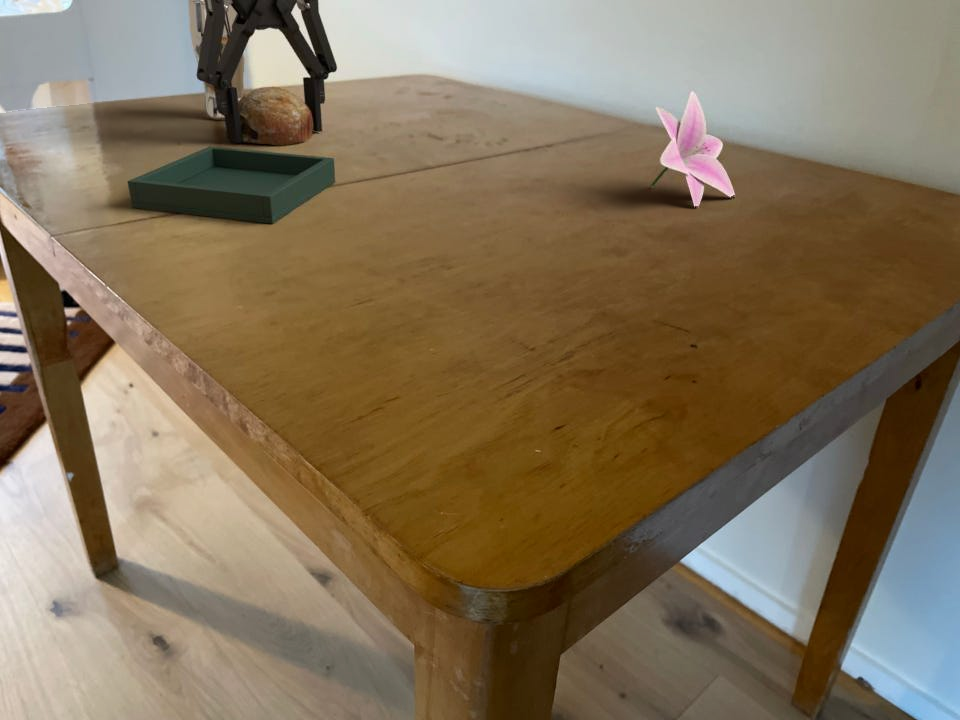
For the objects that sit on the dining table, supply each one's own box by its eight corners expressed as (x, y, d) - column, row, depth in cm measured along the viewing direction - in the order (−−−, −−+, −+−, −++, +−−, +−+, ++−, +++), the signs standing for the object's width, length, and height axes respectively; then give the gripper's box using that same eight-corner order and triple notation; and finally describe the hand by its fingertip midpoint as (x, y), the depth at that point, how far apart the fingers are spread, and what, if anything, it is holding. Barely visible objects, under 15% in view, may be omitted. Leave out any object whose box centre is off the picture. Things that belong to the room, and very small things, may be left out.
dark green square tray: (131, 207, 74) (126, 181, 73) (212, 169, 87) (209, 145, 86) (272, 224, 71) (270, 196, 70) (335, 182, 84) (334, 157, 83)
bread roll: (231, 165, 102) (206, 112, 95) (270, 117, 107) (249, 65, 101) (296, 174, 99) (275, 121, 92) (332, 125, 104) (315, 71, 98)
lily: (632, 219, 79) (691, 144, 73) (598, 148, 86) (648, 74, 80) (718, 243, 85) (780, 175, 78) (679, 174, 92) (733, 106, 85)
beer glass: (231, 109, 115) (218, -3, 108) (262, 116, 112) (251, 1, 105) (191, 116, 110) (175, -1, 103) (223, 123, 107) (208, 3, 100)
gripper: (173, -59, 81) (202, 153, 92) (359, -55, 95) (366, 129, 105) (145, -61, 86) (176, 141, 97) (327, -57, 100) (336, 119, 110)
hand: (276, 135), depth 101 cm, fingers open, 11 cm apart
